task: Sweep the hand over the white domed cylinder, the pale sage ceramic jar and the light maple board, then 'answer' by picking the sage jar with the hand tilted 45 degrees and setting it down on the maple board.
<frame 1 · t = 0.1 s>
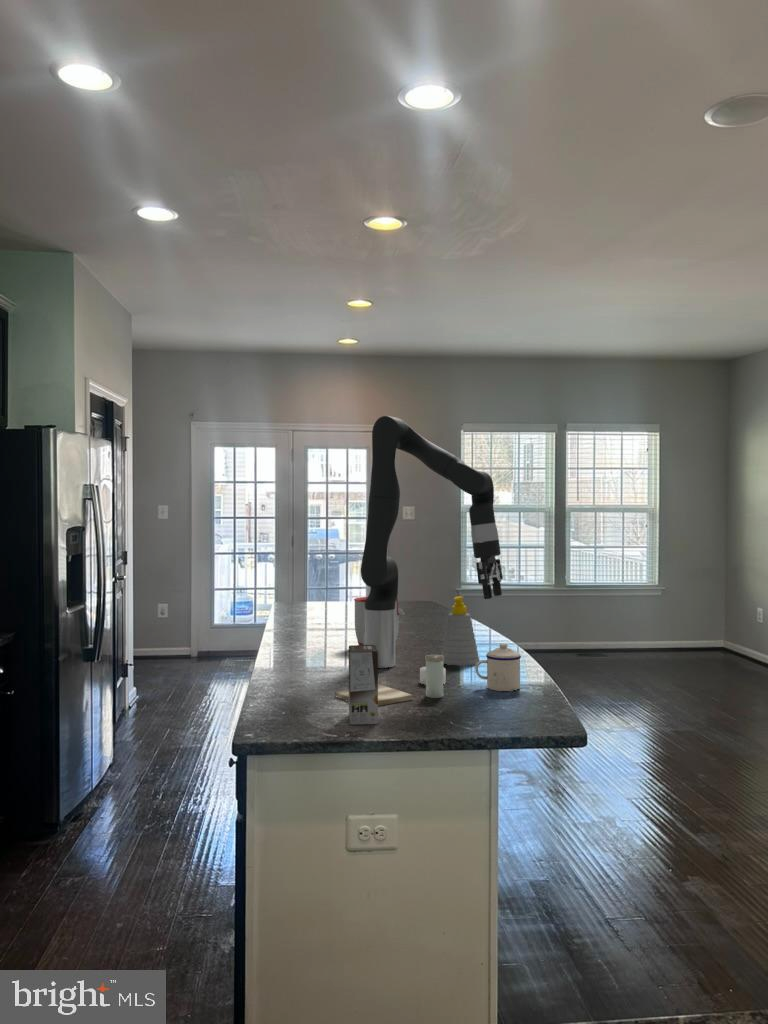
hand: (493, 597, 218), 22 cm above the countertop, tool pointing down, fingers open, 8 cm apart
soap bottle: (459, 663, 239), on the countertop
jar: (434, 695, 195), on the countertop
coffee box: (363, 720, 173), on the countertop
citrus juicer: (379, 649, 265), on the countertop
white domed cylinder: (432, 683, 210), on the countertop
teacup with lid: (498, 688, 204), on the countertop
board: (373, 698, 193), on the countertop
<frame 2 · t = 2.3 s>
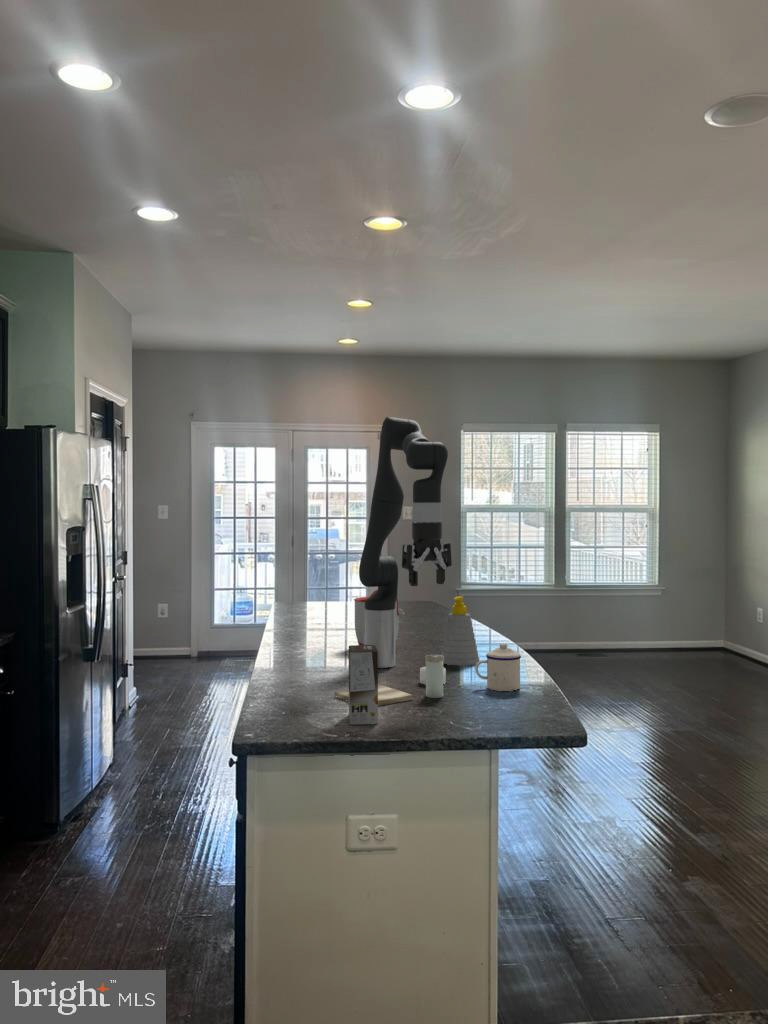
hand: (427, 585, 195), 28 cm above the countertop, tool pointing down, fingers open, 8 cm apart
nothing on the countertop moved.
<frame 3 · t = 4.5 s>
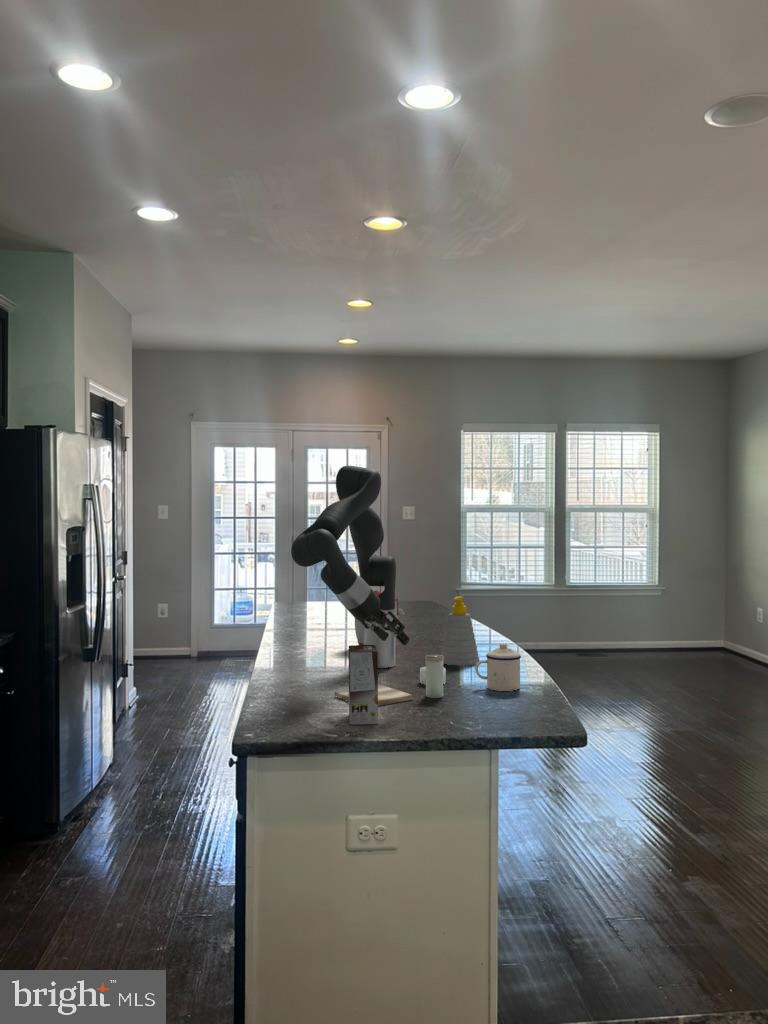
hand: (396, 640, 188), 15 cm above the countertop, tool tilted 45°, fingers open, 8 cm apart
nothing on the countertop moved.
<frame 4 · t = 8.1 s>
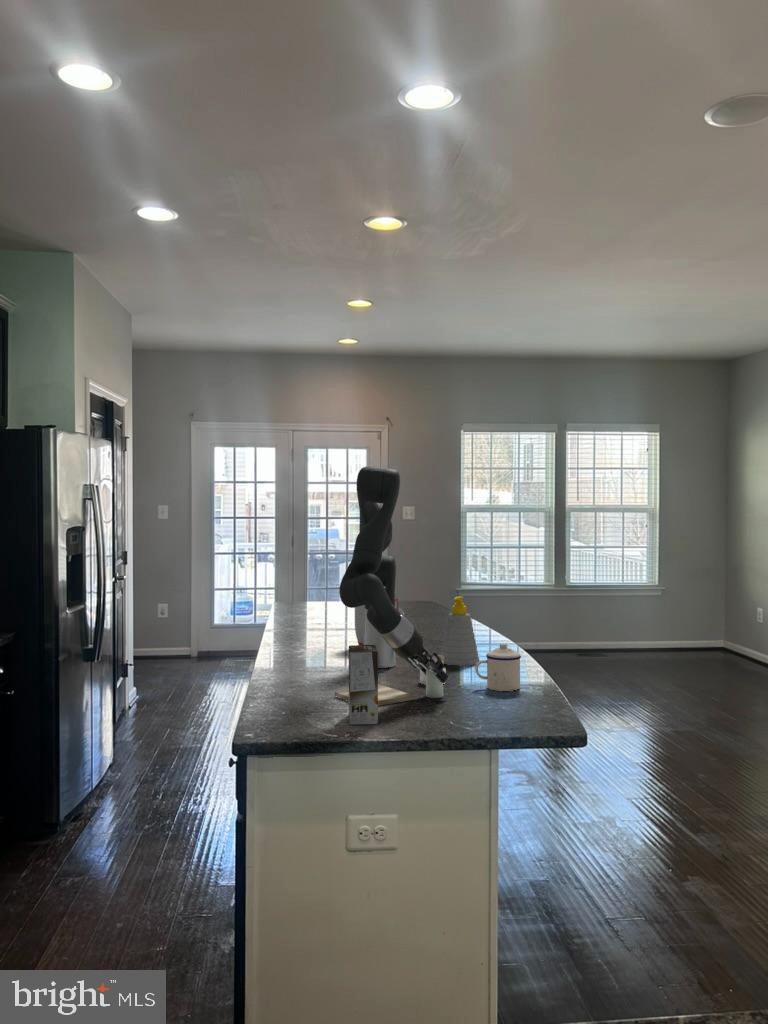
hand: (438, 678, 196), 4 cm above the countertop, tool tilted 45°, fingers closed on jar, 4 cm apart
jar: (434, 695, 195), on the countertop, touching gripper
everything else where it was.
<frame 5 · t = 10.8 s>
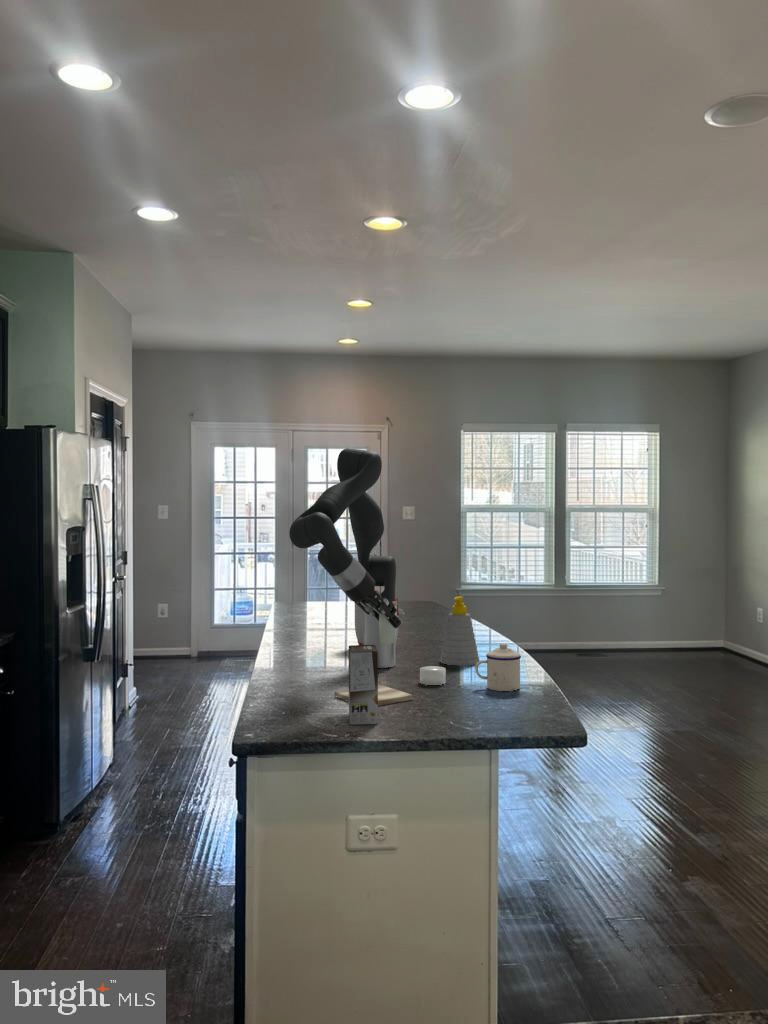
hand: (392, 624, 194), 18 cm above the countertop, tool tilted 45°, fingers closed on jar, 4 cm apart
jar: (387, 641, 193), point 14 cm above the countertop, touching gripper
everything else where it was.
when the fingers open (7 cm above the countertop, at t = 13.6 s): jar drops 1 cm, resting on board.
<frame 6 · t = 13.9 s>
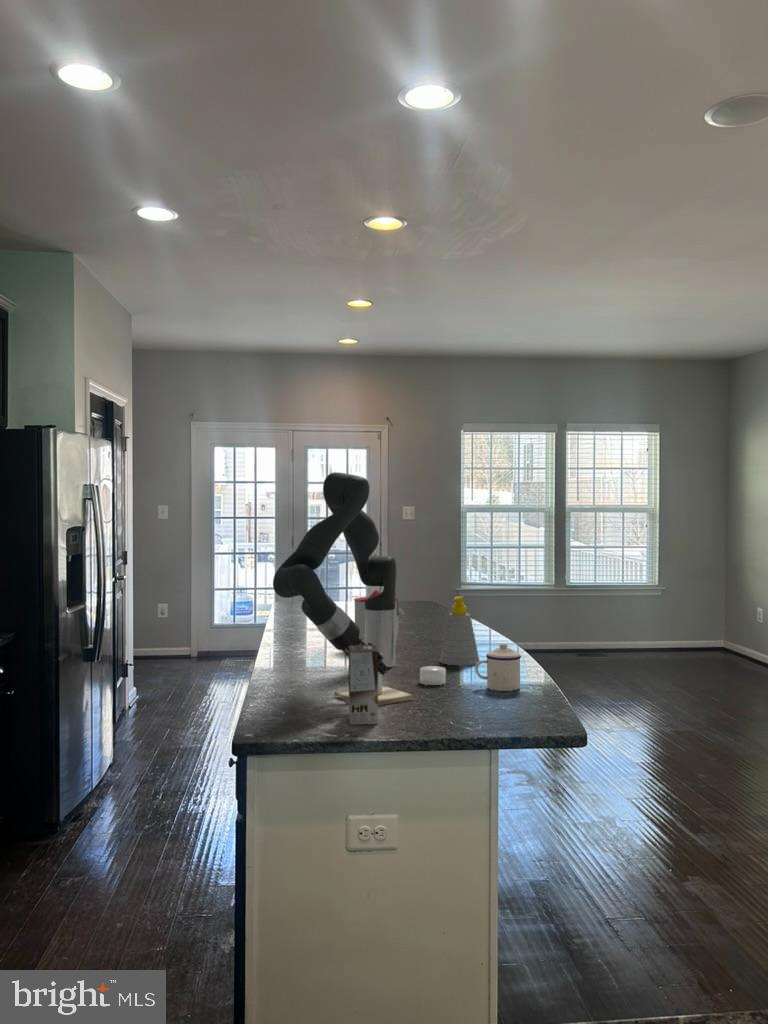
hand: (377, 669, 194), 7 cm above the countertop, tool tilted 45°, fingers open, 6 cm apart
jar: (373, 693, 193), point 1 cm above the countertop, touching board
everything else where it was.
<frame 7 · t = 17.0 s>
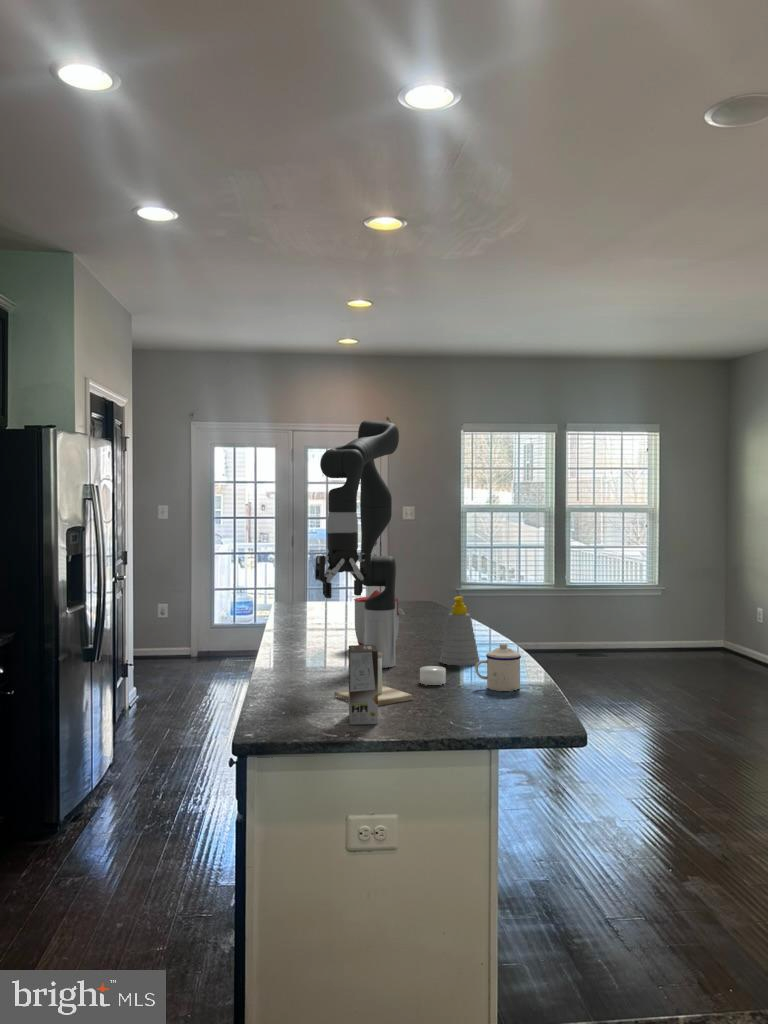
hand: (342, 596, 190), 26 cm above the countertop, tool pointing down, fingers open, 8 cm apart
nothing on the countertop moved.
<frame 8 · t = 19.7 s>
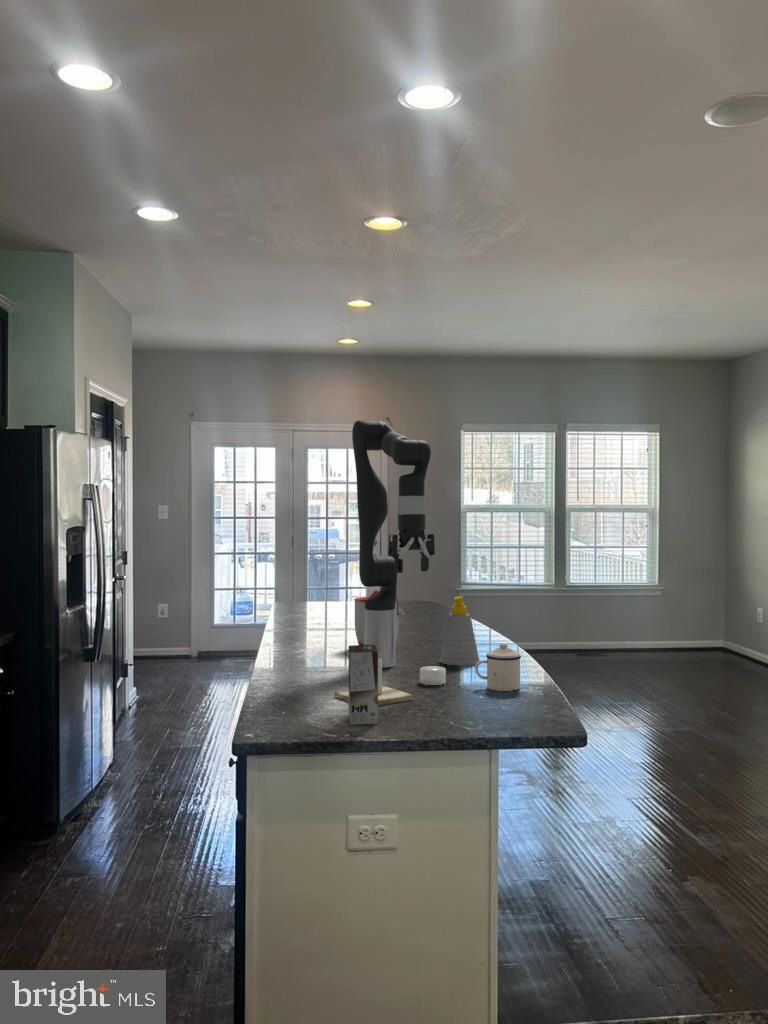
hand: (411, 572, 211), 30 cm above the countertop, tool pointing down, fingers open, 8 cm apart
nothing on the countertop moved.
at the end: jar inside the target area on the board (0.1 cm from its centre), point 1.2 cm above the board's base; jar tilted 0°; the gripper is holding nothing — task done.
